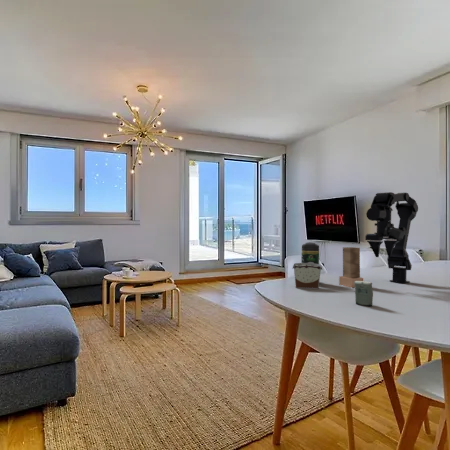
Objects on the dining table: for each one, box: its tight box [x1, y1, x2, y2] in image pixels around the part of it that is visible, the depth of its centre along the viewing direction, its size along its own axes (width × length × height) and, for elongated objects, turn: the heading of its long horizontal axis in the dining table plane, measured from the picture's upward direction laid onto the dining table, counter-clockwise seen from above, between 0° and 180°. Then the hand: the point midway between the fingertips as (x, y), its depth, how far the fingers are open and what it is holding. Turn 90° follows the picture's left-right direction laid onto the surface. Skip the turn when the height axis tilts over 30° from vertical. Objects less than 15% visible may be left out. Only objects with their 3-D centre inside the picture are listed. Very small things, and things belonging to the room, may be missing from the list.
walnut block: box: [342, 246, 361, 278], centre depth 147 cm, size 5×5×13 cm
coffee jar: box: [300, 241, 320, 264], centre depth 152 cm, size 10×8×19 cm
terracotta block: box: [338, 275, 364, 288], centre depth 146 cm, size 7×7×4 cm
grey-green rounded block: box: [354, 280, 374, 307], centre depth 111 cm, size 6×5×8 cm
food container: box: [291, 262, 323, 290], centre depth 142 cm, size 12×6×10 cm, turn 84°
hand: (383, 256), depth 145 cm, fingers open, 9 cm apart
